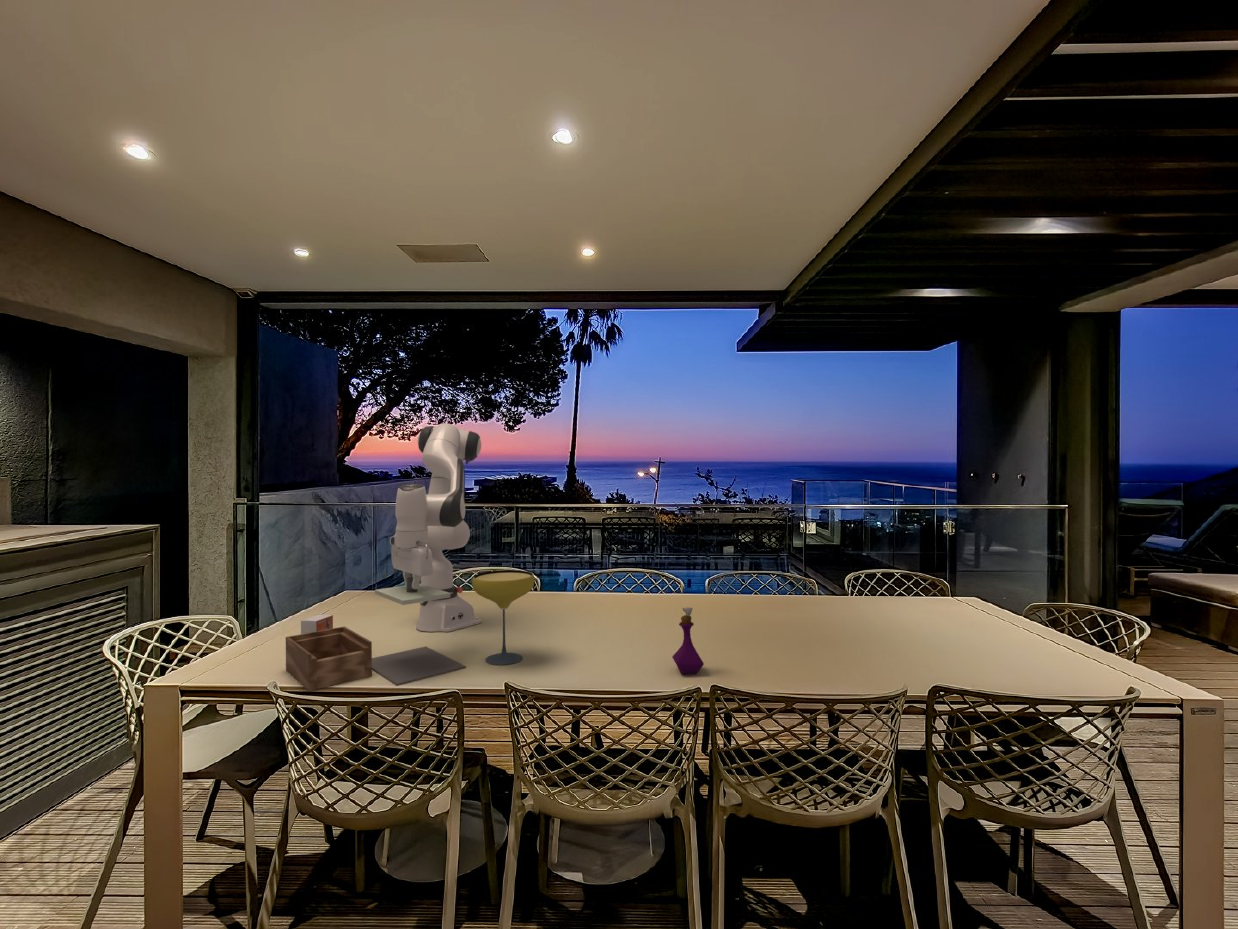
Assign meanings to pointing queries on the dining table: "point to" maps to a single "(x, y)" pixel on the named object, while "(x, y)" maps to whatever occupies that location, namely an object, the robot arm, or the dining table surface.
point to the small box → (317, 623)
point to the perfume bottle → (687, 648)
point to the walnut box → (328, 657)
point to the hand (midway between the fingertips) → (412, 587)
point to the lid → (411, 593)
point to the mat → (413, 665)
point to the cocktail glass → (503, 600)
